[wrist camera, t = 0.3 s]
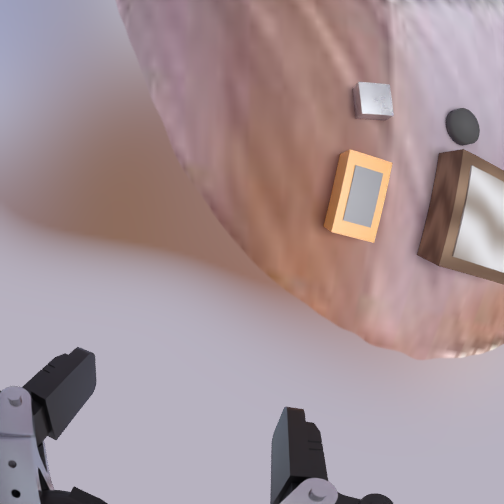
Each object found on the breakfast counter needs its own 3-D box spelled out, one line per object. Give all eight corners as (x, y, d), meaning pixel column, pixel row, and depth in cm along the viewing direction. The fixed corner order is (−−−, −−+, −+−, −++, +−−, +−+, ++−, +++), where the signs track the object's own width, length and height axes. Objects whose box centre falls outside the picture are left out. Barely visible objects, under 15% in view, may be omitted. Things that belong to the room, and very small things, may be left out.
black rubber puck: (446, 105, 32) (453, 102, 30) (472, 118, 32) (480, 116, 30) (443, 137, 33) (450, 135, 31) (470, 150, 33) (477, 149, 31)
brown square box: (439, 153, 33) (464, 149, 27) (506, 185, 33) (532, 187, 27) (417, 254, 36) (440, 266, 30) (486, 274, 36) (510, 286, 30)
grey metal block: (352, 89, 33) (358, 81, 30) (381, 91, 33) (389, 84, 30) (355, 118, 34) (362, 113, 31) (384, 120, 33) (393, 115, 30)
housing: (339, 154, 35) (350, 149, 30) (377, 165, 35) (393, 162, 30) (323, 226, 37) (331, 232, 32) (361, 235, 37) (374, 243, 31)
